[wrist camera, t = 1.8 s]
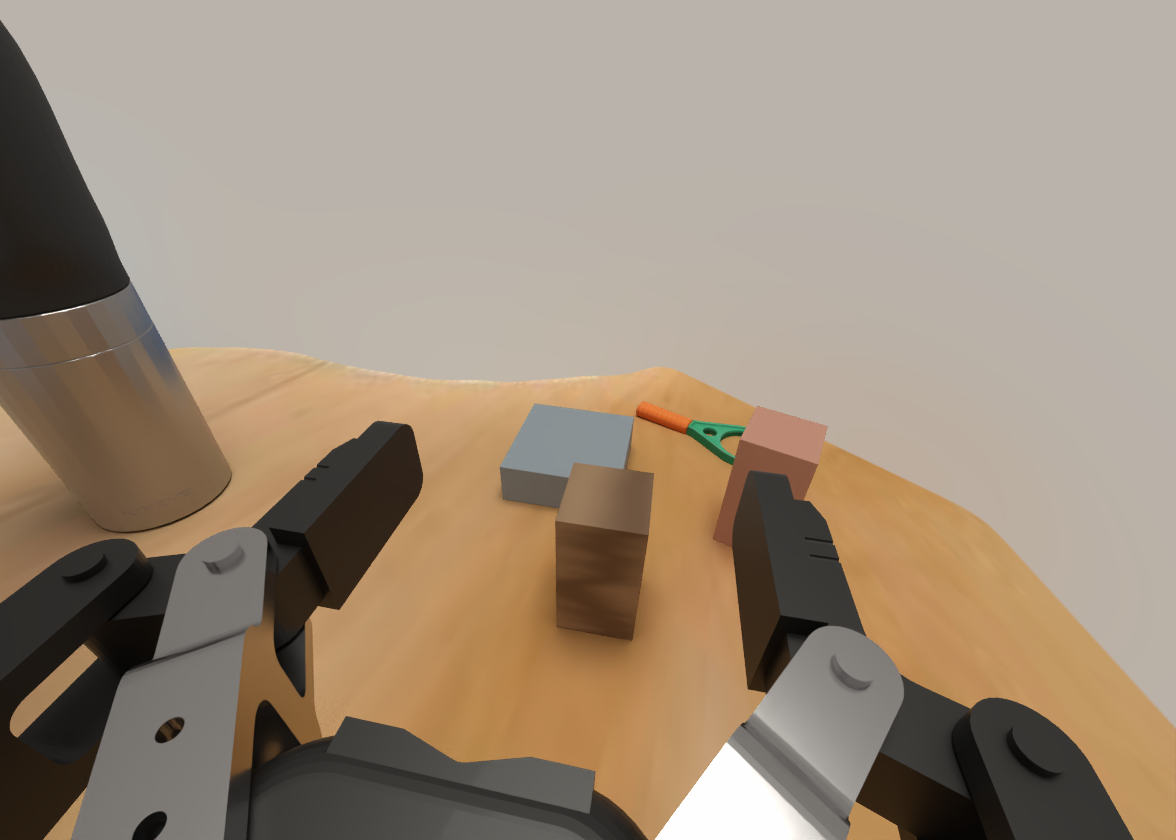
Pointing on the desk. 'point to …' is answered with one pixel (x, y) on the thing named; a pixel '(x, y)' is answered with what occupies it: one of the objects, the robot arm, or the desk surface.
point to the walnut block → (602, 549)
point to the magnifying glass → (694, 428)
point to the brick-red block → (771, 459)
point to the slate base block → (561, 451)
